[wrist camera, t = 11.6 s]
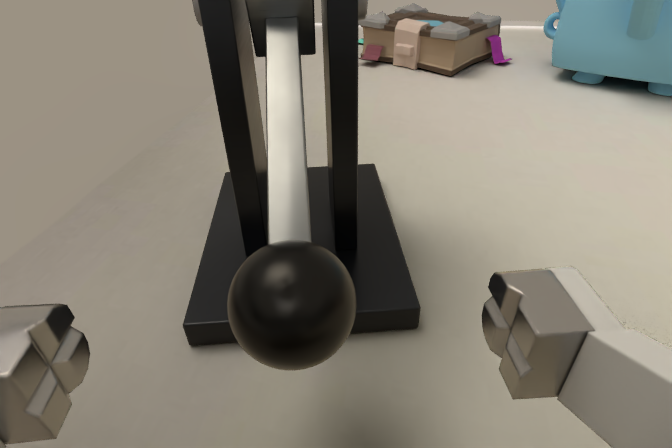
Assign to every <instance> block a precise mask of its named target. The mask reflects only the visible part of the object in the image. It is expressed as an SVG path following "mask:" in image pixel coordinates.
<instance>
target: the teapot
mask: <svg viewBox="0 0 672 448" xmlns="http://www.w3.org/2000/svg"><path fill="white" fill-rule="evenodd" d="M556 3H557V6H558V9H559V12H556V13H553V14H551V15H550V16H549V17H548V18H547V19H546V21H545V23H544V33H545V35H546V36H547V37H548V38H550V39H553V47H552V65H553V66H555V67H558V68H563V69H569V70H574V71H577V73H576V74H575V75H574V76H573V77H572V79H573V80H575V81H577V82H581V83H589V84H596V83H600V82H602V80H603V79H604V77H605V76H611V77H617V78H624V79H631V80H638V81H646V82H649V84H648V90H649V91H650V92H652V93H655V94H659V95H665V96H672V0H556ZM556 19H559V22H558V26H557V29H555V28H554V27H553V23H554V21H555V20H556Z"/></svg>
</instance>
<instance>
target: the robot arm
mask: <svg viewBox="0 0 672 448" xmlns="http://www.w3.org/2000/svg"><path fill="white" fill-rule="evenodd" d="M488 288H489V290H490V292H491V294H492V297H491V298H490V299H489V300H487V301H486V302H485V303H484V307H483V312H482V327H483V332H484V336H485V339H486V342H487V344H488V346H489V348H490V350H491V351H492V352H494V353H495V354H497V355H498V356H499V357H501V358H502V360H501V363H500V366H499V371H500V373H501V375H502V377H503V379H504V381H505V384H506V386H507V388H508V390H509V392H510V394H511V397H512V399H529V398H546V397H558V398H557V399H558V400H559V401H560V402H561V403H562V404H563V405H564V406H566V407H567V408H568V409H569V410H570V411H571V412H572V413H574V414H575V415H576V416H577V417H578V418H579V419H580V420H582V421H583V422H584V423H585V424H586V425H587V426H588V427H589V428H591V429H592V430H593V431H594V432H595V433H596V434H597V435H599V436H600V437H601V438H602V439H603V440H604V441H605V442H607V443H608V444H609V445H610V446H611V447H612V448H672V349H671V348H669V347H667V346H666V345H664V344H662V343H660V342H658V341H656V340H655V339H653V338H651V337H649V336H647V335H645V334H644V333H642V332H640V331H638V330H636V329H626V328H625V327H624V326H623V324H622V323H621V322H620V321H619V320H618V318H617V317H616V316H615V315H614V313H613V312H612V311H611V310H610V309H609V307H608V306H607V305H606V304H605V302H604V301H603V300H602V299H601V298H600V296H599V295H598V294H597V293H596V291H595V290H594V289H593V288H592V286H591V285H590V284H589V283H588V282H587V280H586V279H585V278H584V277H583V275H582V274H581V273H580V272H579V271H578V270H577V269H576V268H574V267H572V266H564V267H553V268H545V269H531V270H518V271H506V272H495V273H494V274H493V275H492V277H491V278H490V282H489V286H488ZM74 318H75V317H74V316H73V314H72V312H71V311H70V309H69V308H68V306H67V305H63V304H42V305H21V306H5V307H0V448H6V445H5V444H14V443H23V442H32V441H40V440H49V439H56V438H57V436H58V433H59V431H60V429H61V427H62V425H63V423H64V421H65V418H66V416H67V414H68V412H69V410H70V408H71V406H72V402H71V399H70V396H69V393H70V392H71V391H73V390H74V389H75V388H76V387H77V386H79V385H80V384H81V383H82V382H83V379H84V377H85V375H86V372H87V370H88V365H89V357H90V351H89V345H88V342H87V340H86V338H85V336H84V334H83V333H82V332H80V331H78V330H77V329H75V328H73V327H72V326H71V324H72V322H73V320H74Z"/></svg>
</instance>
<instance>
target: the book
mask: <svg viewBox="0 0 672 448" xmlns="http://www.w3.org/2000/svg"><path fill="white" fill-rule="evenodd" d="M500 23H501V18H500V16H488V15H484V14H482V13H479V12H476V13H474V14H473V15H471V16H470V18H469V17H456V16H447V15H441V14H435V13H429V12H428V10H427V9H426V8H422V7H420V6H418V5H416V4H411V5H407V6H403V7H399V8H397V9H396V10H395V13H393V14H390V15H386V14H385V13H384V12H383V11H382V12H380V13H378V14H371V15H367V16H366V18H365V19H364V20H358V25H361V27H363V34H364V39H363V38H362V39H360V40H358V42H359V43H363V53H361V58H359V59H366V60H375V61H385V62H393V65H397V66H404V67H408V68H411V69H414V70H415V69H417V68H423V69H426V70H430V71H434V72H437V73H441V74H445V75H449V76H452V75H454V74H455V73H457V72H459V71H461V70H462V69H464V68H466V67H467V66H469V65H471V64H473V63H476V62H479V61H481V60H484V59H487V58H490V57H492V56H493V60H494V63H495V64H498V63H500V62H501V63H504V62H506V61H509V60H511V59H510V58H509V59H507V60H505V59H504V57H503V53H502V46H501V38H500V37H499V33H500Z"/></svg>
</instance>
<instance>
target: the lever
mask: <svg viewBox="0 0 672 448" xmlns="http://www.w3.org/2000/svg"><path fill="white" fill-rule="evenodd" d="M245 3H246V8H247V13H248V18H249V23H250V28H251V33H252V38H253V43H254V48H255V53H256V56H257V57H266V125H267V204H268V245H266V246H264V247H262V248H260V249H258V250H257V251H256V252H254V253H253V254H252V255H250V256H249V257H248V258H247V259H246V260H245V261H244V263H243V264H242V265H241V266H240V268H239V269H238V271H237V272H236V274H235V276H234V278H233V280H232V283H231V286H230V289H229V293H228V301H227V309H228V319H229V323H230V326H231V329H232V332H233V334H234V336H235V338H236V340H237V341H238V343H239V344H240V345H241V347H242V348H243V349H244V350H245V351H246V352H247V353H248V354H249V355H250V356H251V357H252V358H254V359H255V360H257V361H259V362H260V363H262V364H264V365H267V366H269V367H272V368H276V369H280V370H301V369H306V368H310V367H313V366H315V365H318V364H320V363H322V362H323V361H325V360H327V359H328V358H330V357H331V356H332V355H333V354H334V353H336V351H337V350H338V349H339V348H340V347H341V346H342V345H343V343H344V342H345V340H346V339H347V337H348V335H349V334H350V332H351V329H352V327H353V324H354V320H355V316H356V308H357V304H356V292H355V287H354V284H353V281H352V278H351V276H350V274H349V272H348V271H347V269H346V267H345V266H344V264H343V263H342V262H341V261H340V260H339V259H338V258H337V257H336V256H335V255H334V254H333V253H332V252H330V251H329V250H327V249H326V248H324V247H322V246H320V245H318V244H315V243H313V242H312V241H311V224H310V207H309V190H308V173H307V156H306V139H305V122H304V105H303V88H302V70H301V55H312V54H315V53H316V49H315V22H314V0H245Z"/></svg>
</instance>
